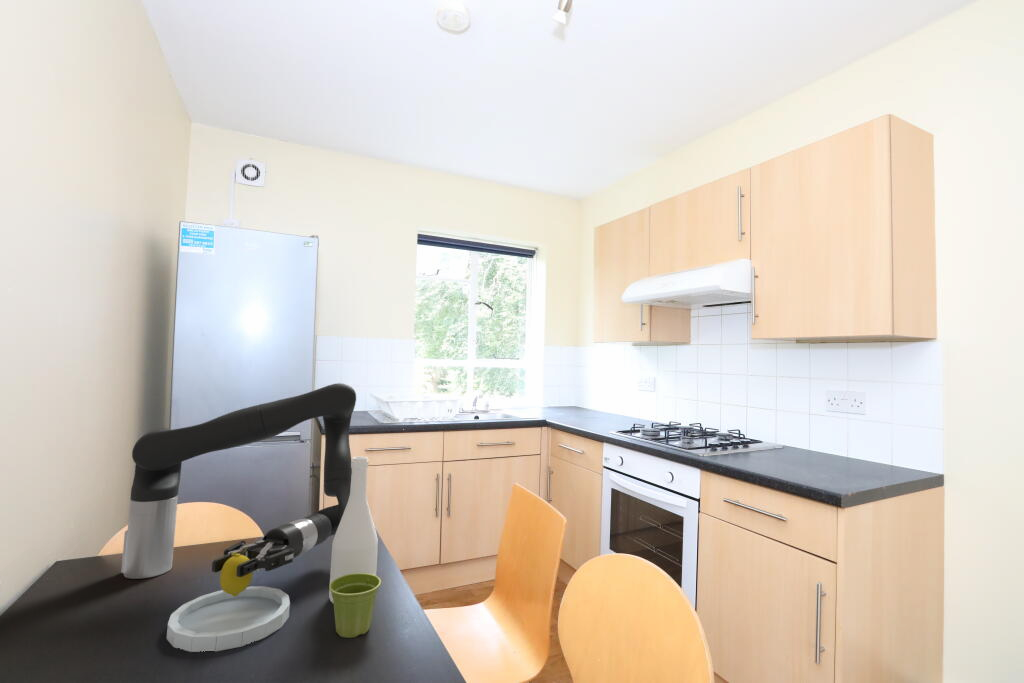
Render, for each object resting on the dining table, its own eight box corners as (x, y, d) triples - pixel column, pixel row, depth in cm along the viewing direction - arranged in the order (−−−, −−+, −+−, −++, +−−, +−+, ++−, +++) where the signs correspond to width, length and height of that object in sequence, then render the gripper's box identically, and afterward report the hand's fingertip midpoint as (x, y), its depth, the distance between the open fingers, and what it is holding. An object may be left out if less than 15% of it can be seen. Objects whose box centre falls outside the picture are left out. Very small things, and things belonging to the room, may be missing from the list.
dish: (140, 638, 87) (141, 623, 87) (234, 592, 106) (235, 580, 106) (227, 661, 81) (228, 645, 81) (310, 608, 100) (311, 595, 100)
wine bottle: (370, 586, 111) (378, 453, 114) (378, 604, 103) (386, 460, 105) (326, 592, 107) (335, 454, 110) (330, 612, 99) (340, 462, 101)
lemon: (237, 604, 91) (239, 560, 91) (211, 601, 92) (214, 557, 92) (258, 591, 96) (260, 549, 97) (233, 588, 97) (235, 547, 98)
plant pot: (369, 644, 87) (372, 595, 88) (318, 642, 88) (321, 592, 88) (384, 619, 97) (386, 574, 97) (337, 616, 97) (340, 572, 98)
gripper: (265, 519, 110) (197, 544, 94) (318, 526, 106) (257, 554, 90) (263, 553, 110) (195, 584, 94) (317, 562, 106) (254, 596, 89)
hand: (226, 569), depth 92 cm, fingers closed on lemon, 5 cm apart
